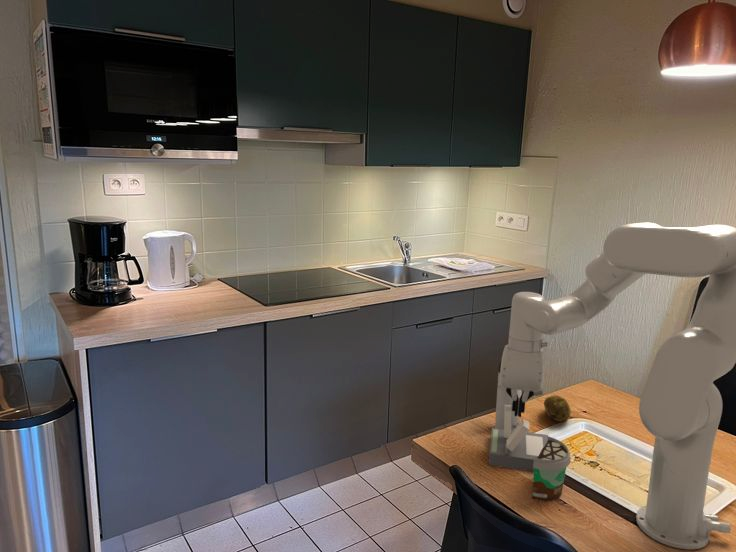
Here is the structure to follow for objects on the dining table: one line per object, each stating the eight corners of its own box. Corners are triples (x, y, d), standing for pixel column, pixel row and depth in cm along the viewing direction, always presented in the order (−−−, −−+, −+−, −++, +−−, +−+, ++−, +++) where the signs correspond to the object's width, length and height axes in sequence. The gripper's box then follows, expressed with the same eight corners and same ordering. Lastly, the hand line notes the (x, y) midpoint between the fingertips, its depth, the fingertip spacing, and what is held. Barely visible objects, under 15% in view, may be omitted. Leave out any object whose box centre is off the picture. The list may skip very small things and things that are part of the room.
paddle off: (509, 447, 133) (529, 421, 130) (508, 456, 128) (529, 430, 126) (503, 443, 133) (523, 418, 130) (502, 452, 129) (523, 426, 126)
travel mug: (520, 438, 143) (526, 366, 139) (495, 435, 145) (499, 364, 141) (519, 427, 149) (524, 358, 145) (494, 425, 151) (498, 356, 147)
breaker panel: (547, 445, 139) (548, 434, 139) (550, 473, 127) (551, 461, 126) (491, 438, 143) (491, 427, 142) (488, 464, 130) (489, 452, 129)
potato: (579, 416, 157) (581, 390, 155) (563, 432, 147) (566, 404, 145) (550, 408, 162) (552, 383, 160) (533, 423, 152) (535, 396, 150)
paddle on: (510, 435, 138) (511, 404, 136) (510, 444, 134) (511, 411, 132) (504, 435, 138) (504, 404, 137) (503, 443, 134) (504, 411, 132)
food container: (560, 511, 112) (564, 467, 111) (530, 502, 116) (533, 458, 114) (573, 483, 123) (576, 442, 121) (545, 475, 126) (548, 435, 124)
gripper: (556, 342, 132) (548, 412, 136) (493, 335, 136) (487, 403, 140) (558, 352, 125) (550, 426, 129) (491, 345, 129) (486, 416, 133)
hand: (517, 414), depth 134 cm, fingers closed
